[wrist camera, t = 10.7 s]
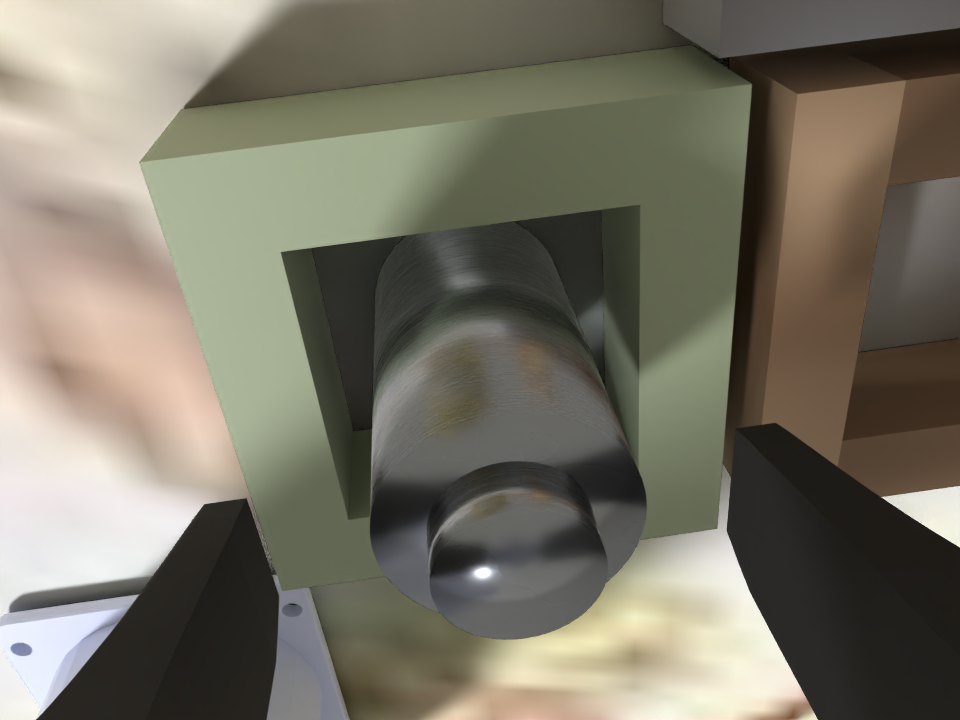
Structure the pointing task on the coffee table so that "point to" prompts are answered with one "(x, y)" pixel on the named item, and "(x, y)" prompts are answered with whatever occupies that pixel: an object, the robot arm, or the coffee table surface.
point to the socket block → (842, 256)
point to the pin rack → (452, 205)
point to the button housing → (801, 22)
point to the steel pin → (493, 438)
